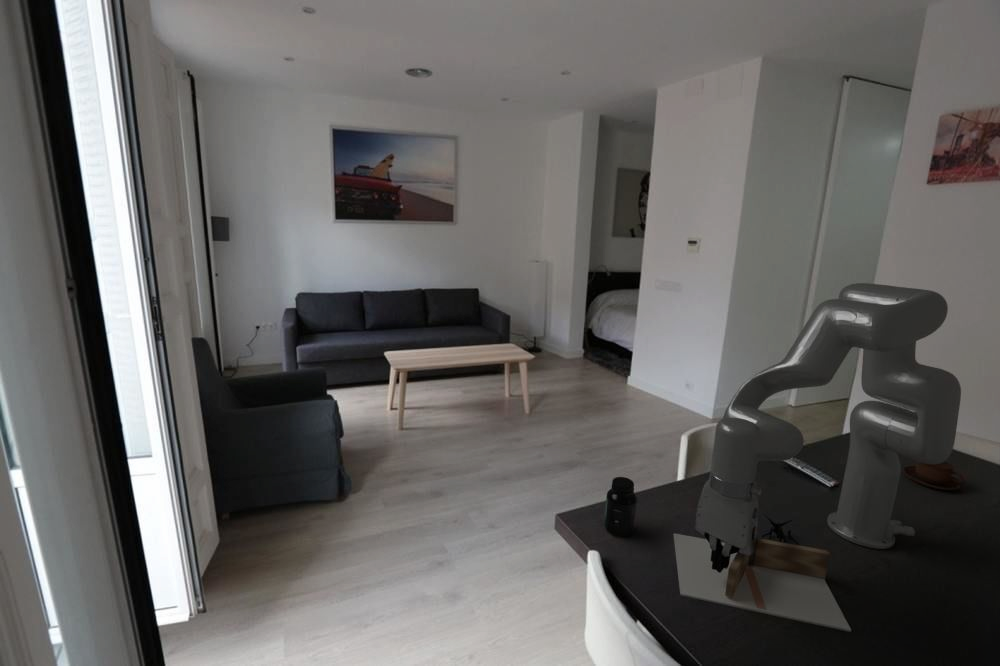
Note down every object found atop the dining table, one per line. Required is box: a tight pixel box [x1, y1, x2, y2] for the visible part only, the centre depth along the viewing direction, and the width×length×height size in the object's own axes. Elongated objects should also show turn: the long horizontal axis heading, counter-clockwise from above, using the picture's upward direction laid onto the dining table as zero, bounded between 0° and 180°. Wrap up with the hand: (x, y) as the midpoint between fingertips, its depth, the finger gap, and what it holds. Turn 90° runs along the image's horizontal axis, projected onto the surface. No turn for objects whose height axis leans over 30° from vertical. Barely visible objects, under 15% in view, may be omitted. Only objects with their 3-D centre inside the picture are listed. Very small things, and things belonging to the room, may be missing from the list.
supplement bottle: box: [604, 476, 638, 538], centre depth 108 cm, size 7×7×12 cm
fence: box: [748, 535, 831, 579], centre depth 96 cm, size 15×2×7 cm, turn 74°
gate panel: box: [725, 552, 749, 599], centre depth 92 cm, size 12×1×6 cm, turn 140°
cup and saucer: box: [903, 460, 965, 491], centre depth 132 cm, size 12×12×6 cm
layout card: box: [673, 533, 852, 633], centre depth 94 cm, size 28×19×1 cm
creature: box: [760, 513, 801, 546], centre depth 105 cm, size 8×5×8 cm
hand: (719, 567), depth 92 cm, fingers closed
